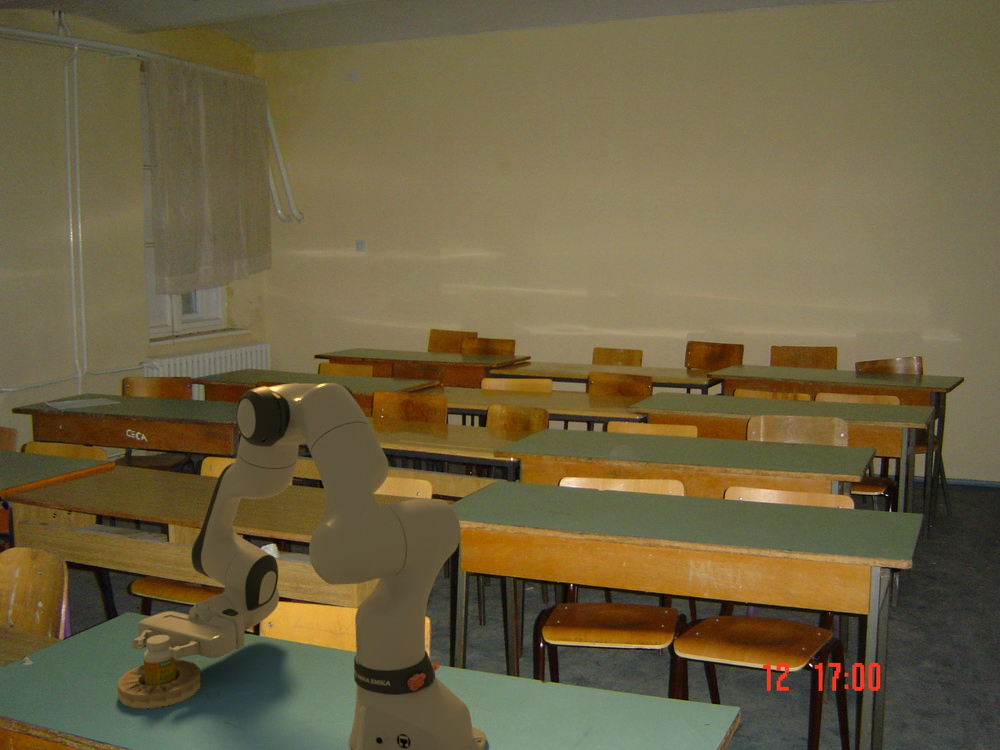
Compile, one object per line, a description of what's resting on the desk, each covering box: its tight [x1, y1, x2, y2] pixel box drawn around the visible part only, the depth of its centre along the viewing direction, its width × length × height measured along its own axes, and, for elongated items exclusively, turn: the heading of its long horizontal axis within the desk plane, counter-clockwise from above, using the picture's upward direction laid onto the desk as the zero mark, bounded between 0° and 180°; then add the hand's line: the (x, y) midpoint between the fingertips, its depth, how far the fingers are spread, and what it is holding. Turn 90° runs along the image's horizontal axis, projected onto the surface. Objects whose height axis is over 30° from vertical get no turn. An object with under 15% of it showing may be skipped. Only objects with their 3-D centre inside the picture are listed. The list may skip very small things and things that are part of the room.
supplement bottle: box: [143, 635, 176, 686], centre depth 169 cm, size 5×5×10 cm
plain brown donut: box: [117, 659, 201, 710], centre depth 170 cm, size 14×14×2 cm
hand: (153, 650), depth 168 cm, fingers open, 8 cm apart
